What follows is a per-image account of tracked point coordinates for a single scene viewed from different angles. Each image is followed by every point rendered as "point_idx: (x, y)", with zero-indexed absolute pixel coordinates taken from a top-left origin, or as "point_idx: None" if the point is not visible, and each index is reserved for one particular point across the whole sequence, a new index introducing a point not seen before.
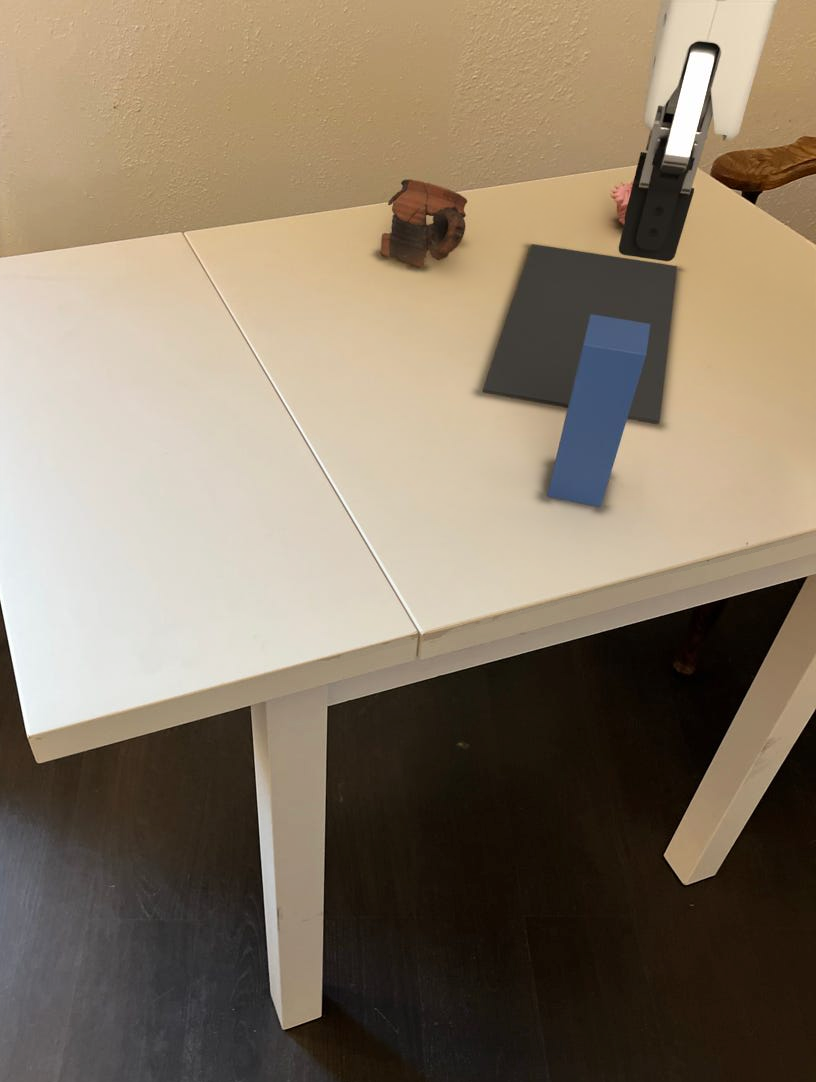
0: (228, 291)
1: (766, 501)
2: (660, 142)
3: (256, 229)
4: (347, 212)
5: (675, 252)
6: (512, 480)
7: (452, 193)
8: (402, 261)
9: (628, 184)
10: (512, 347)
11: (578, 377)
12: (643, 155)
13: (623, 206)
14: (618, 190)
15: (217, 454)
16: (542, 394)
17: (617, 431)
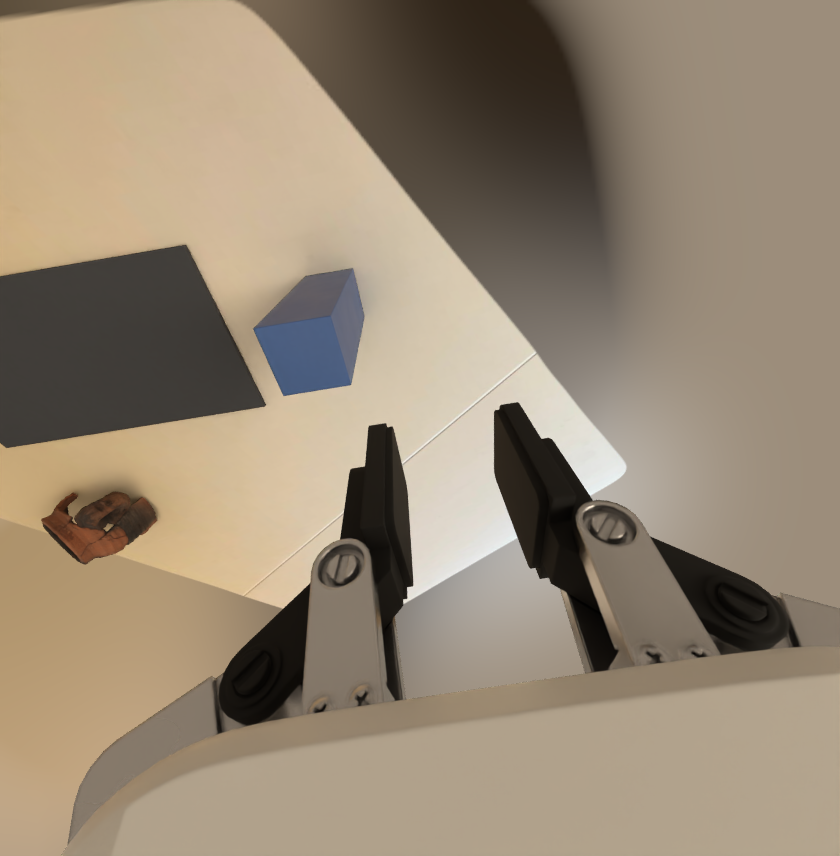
0: (279, 559)
1: (227, 67)
2: (394, 612)
3: (202, 578)
4: (124, 556)
5: (521, 408)
6: (359, 348)
7: (62, 535)
8: (153, 510)
9: None
10: (189, 406)
11: (354, 364)
12: (404, 595)
13: None
14: None
15: (428, 499)
16: (235, 363)
17: (345, 293)
